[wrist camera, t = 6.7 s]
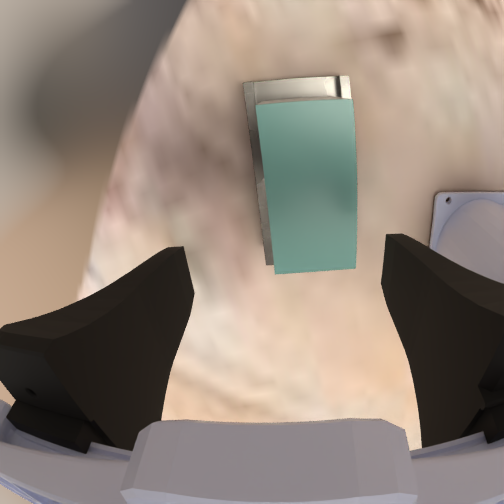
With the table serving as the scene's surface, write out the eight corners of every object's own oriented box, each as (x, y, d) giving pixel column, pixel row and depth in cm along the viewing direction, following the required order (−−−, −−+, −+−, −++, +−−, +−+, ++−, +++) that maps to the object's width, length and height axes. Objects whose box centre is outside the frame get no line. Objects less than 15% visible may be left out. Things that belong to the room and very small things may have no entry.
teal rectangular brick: (333, 96, 16) (352, 99, 12) (340, 226, 20) (355, 268, 15) (261, 101, 16) (255, 105, 12) (276, 230, 20) (275, 274, 16)
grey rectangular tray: (341, 77, 16) (349, 75, 14) (348, 242, 22) (354, 258, 20) (246, 83, 17) (242, 82, 15) (267, 248, 22) (266, 265, 20)
